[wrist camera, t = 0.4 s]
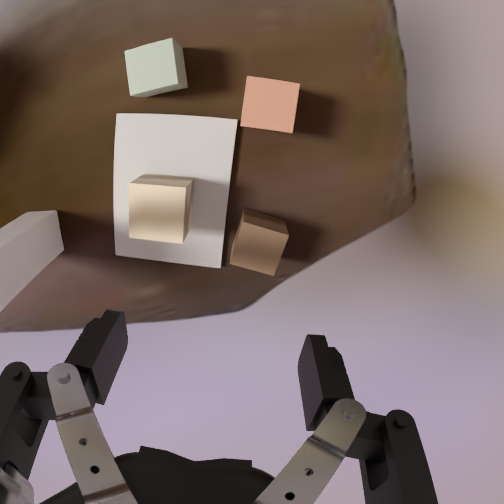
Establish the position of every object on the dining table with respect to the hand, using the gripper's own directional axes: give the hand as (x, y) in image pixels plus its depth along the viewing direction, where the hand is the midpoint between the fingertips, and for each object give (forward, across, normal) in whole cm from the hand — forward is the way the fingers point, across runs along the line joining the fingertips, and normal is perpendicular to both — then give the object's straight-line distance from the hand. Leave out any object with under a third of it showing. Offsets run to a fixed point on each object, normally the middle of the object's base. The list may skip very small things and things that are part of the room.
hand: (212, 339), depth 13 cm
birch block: (+24, +8, +2) cm, 26 cm away
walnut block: (+25, -3, +5) cm, 26 cm away
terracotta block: (+25, -2, -10) cm, 27 cm away
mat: (+25, +8, +1) cm, 26 cm away
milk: (+25, +27, +8) cm, 37 cm away
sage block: (+25, +10, -13) cm, 30 cm away
